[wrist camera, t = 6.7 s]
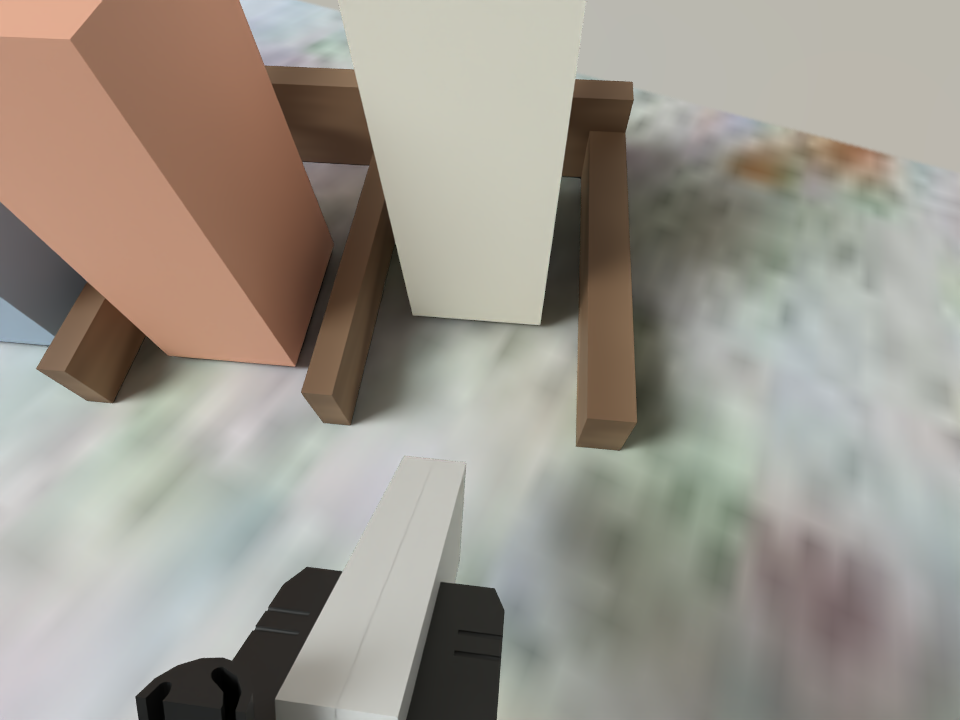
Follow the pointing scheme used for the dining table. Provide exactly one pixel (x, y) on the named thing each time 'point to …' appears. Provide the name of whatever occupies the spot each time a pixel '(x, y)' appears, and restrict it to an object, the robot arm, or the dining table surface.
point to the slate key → (32, 285)
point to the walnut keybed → (366, 258)
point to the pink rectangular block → (162, 170)
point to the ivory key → (469, 142)
